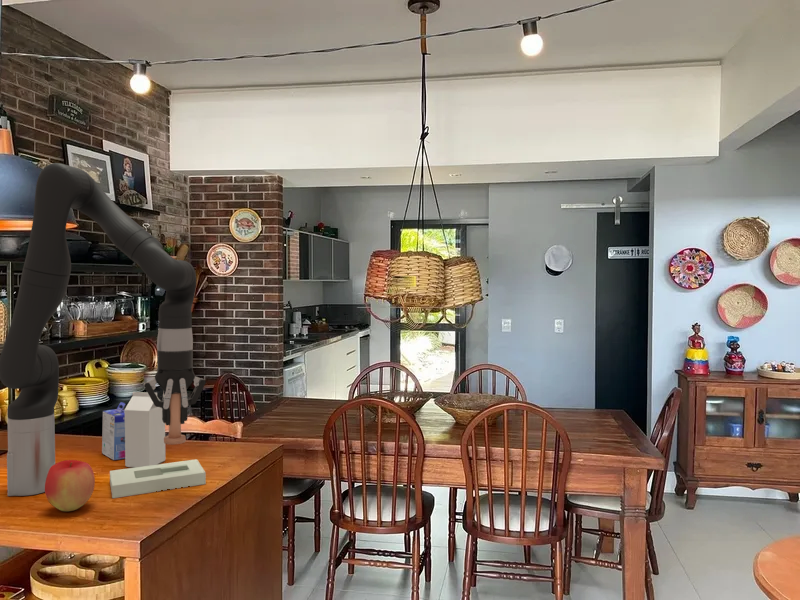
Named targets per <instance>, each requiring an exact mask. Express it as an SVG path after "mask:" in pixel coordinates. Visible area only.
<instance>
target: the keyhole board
mask: <svg viewBox="0 0 800 600" xmlns="http://www.w3.org/2000/svg"><path fill="white" fill-rule="evenodd" d="M206 473H207V472H206V471H205V469H204V468H203V466H202V465H201V463H200V462H199V460H198V459H196V458H195V459H190V460H182V461H175V462H174V461H173V462H168V463H167V462H166V463H165V462H164V463H159V464H157V465H150V466H143V467H128V468H123V469H121V468H120V469H115V470H109V485H110V491H111V498H112V499H117V498H123V497H129V496H130V497H131V496H136V495H143V494H150V493H155V492H156V491H157V492H161V490H163V491H168V490H167V489H170V490H176V489H175V488H177V489H181V487H183V488H189V487H188V486H190V487H195V486H202V485H206V484H207V483H206V479H207V478H206V475H207V474H206Z"/></svg>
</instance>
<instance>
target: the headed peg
mask: <svg viewBox="0 0 800 600" xmlns="http://www.w3.org/2000/svg"><path fill="white" fill-rule="evenodd" d="M169 409H170V425H168V434H167V435H165V437H164V443H165V445H180V444H184V443H185V442H187V441H186V439H187V437H186V435H184V434H182V424H181V393H177V392H175V393H171V398H170V403H169Z"/></svg>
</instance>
